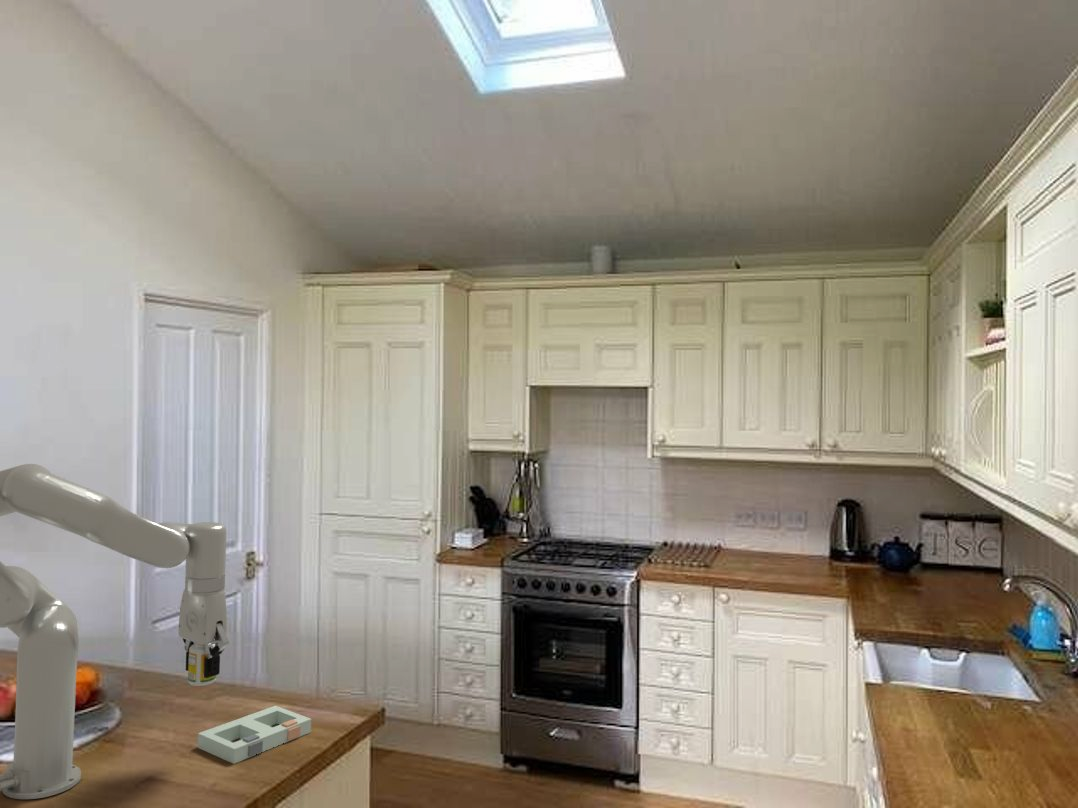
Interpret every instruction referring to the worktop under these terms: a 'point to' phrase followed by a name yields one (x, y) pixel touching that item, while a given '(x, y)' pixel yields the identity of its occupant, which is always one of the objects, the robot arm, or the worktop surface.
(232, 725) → the socket board
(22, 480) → the robot arm
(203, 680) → the supplement bottle
